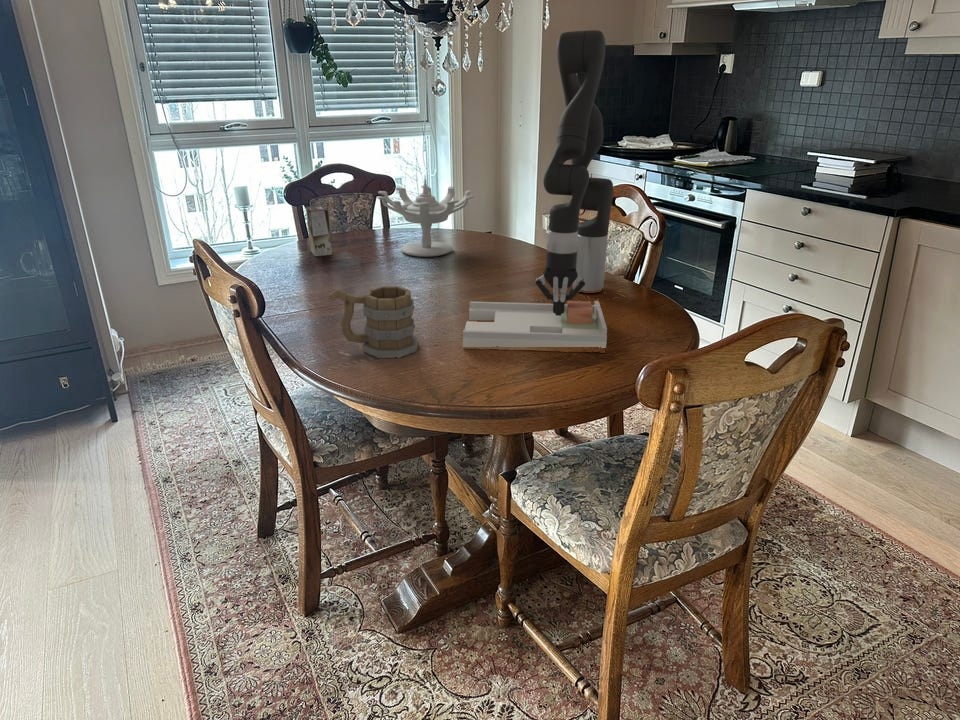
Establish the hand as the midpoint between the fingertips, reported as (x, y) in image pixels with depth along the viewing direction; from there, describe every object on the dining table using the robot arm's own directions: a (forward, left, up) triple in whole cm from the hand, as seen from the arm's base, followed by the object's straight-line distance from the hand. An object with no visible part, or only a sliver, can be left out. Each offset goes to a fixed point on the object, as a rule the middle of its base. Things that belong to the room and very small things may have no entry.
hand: (558, 314), depth 168 cm
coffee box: (-69, -82, -4) cm, 107 cm away
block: (+1, +5, -1) cm, 5 cm away
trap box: (+4, -6, -4) cm, 8 cm away
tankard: (+16, -44, -4) cm, 47 cm away
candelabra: (-74, -44, -4) cm, 86 cm away
